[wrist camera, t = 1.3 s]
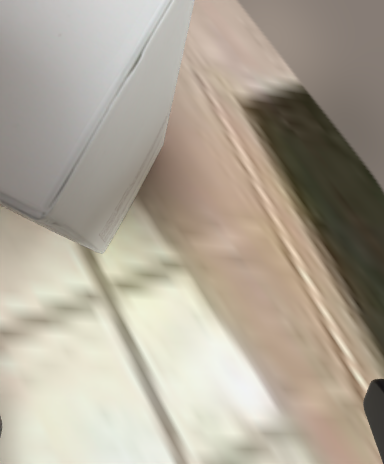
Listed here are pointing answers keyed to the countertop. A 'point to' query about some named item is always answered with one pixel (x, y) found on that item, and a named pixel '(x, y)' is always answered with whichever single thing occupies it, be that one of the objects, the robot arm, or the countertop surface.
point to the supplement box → (84, 107)
